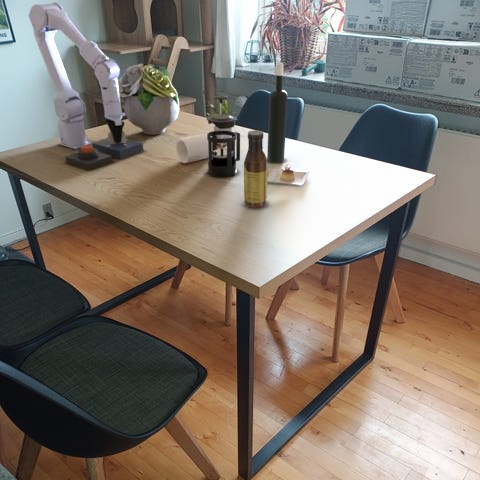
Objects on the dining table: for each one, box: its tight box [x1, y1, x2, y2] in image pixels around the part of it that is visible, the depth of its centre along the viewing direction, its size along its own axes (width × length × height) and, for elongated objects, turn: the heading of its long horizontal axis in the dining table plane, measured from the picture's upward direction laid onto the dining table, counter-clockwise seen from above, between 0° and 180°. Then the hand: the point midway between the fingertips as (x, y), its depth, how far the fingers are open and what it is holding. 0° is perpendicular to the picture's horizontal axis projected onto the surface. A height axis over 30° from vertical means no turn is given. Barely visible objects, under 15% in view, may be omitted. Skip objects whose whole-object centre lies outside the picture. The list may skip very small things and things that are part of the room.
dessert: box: [267, 164, 310, 187], centre depth 153 cm, size 12×12×5 cm
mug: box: [175, 133, 209, 164], centre depth 167 cm, size 12×10×8 cm
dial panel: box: [91, 138, 145, 160], centre depth 175 cm, size 14×11×3 cm
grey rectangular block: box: [107, 129, 126, 144], centre depth 173 cm, size 6×2×4 cm, turn 113°
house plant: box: [203, 99, 237, 146], centre depth 180 cm, size 14×14×16 cm
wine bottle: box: [266, 62, 289, 164], centre depth 160 cm, size 6×6×30 cm
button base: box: [64, 148, 114, 171], centre depth 165 cm, size 12×10×4 cm
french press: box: [206, 95, 241, 179], centre depth 152 cm, size 12×9×23 cm
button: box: [80, 144, 93, 153], centre depth 163 cm, size 4×4×2 cm
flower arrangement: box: [117, 63, 180, 136], centre depth 188 cm, size 25×25×24 cm
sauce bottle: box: [243, 129, 268, 209], centre depth 132 cm, size 6×6×20 cm
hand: (117, 141), depth 174 cm, fingers closed on grey rectangular block, 2 cm apart
